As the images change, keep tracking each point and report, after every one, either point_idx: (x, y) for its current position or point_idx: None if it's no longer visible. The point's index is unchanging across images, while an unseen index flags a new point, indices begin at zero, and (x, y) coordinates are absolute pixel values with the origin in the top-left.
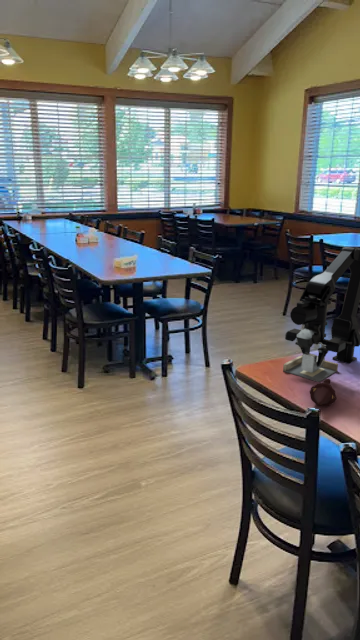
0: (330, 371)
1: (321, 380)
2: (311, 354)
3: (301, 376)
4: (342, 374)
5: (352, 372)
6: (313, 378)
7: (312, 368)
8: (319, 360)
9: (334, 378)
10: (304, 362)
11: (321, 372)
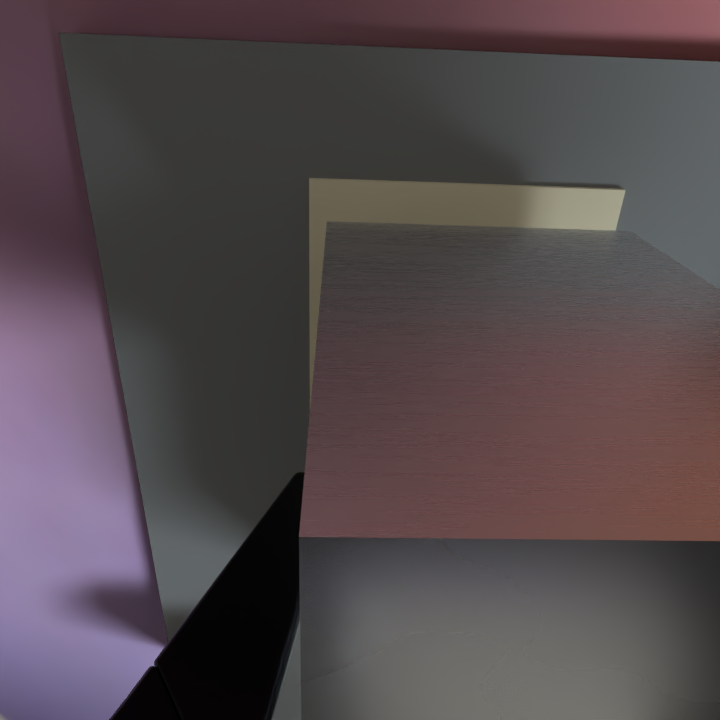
0: (206, 577)
1: (90, 159)
2: (575, 712)
3: (529, 53)
4: (54, 604)
5: (20, 709)
6: (242, 94)
7: (337, 259)
8: (227, 595)
9: (20, 419)
10: (663, 311)
11: (288, 470)
